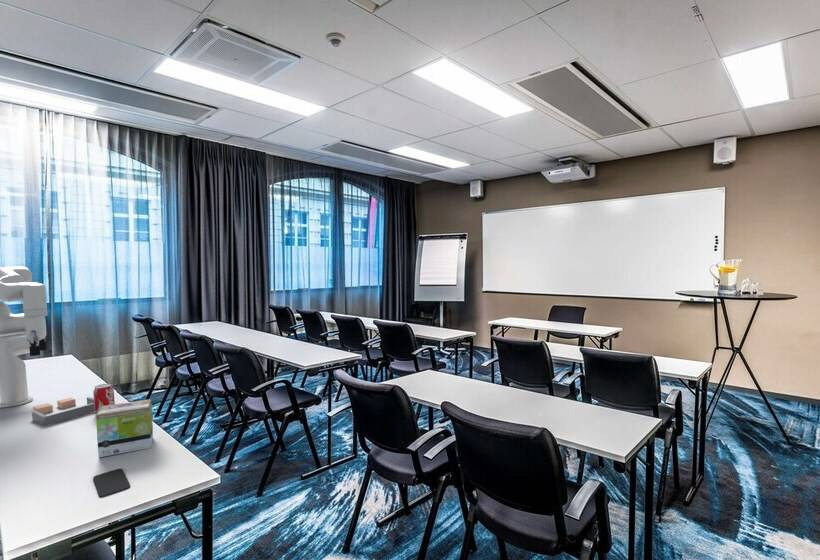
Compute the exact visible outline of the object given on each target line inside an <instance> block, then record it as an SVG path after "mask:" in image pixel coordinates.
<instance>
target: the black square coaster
mask: <svg viewBox="0 0 820 560" xmlns="http://www.w3.org/2000/svg"><path fill="white" fill-rule="evenodd" d="M92 479H93V484H94V487H95V490H96V491H97V495H98V498H105V497H108V496H110V495H114V494H117V493H120V492H123V491H126V490H129V489H130V488H131V483H130V482H129V480H128V477H127V475H126V474H125V472H124V469H123V468H116V469H112V470H110V471H106V472H104V473H99V474H97V475H94V476H93V477H92Z"/></svg>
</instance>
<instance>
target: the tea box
mask: <svg viewBox="0 0 820 560" xmlns="http://www.w3.org/2000/svg"><path fill="white" fill-rule="evenodd" d="M152 410H153V409H152V399H151V398H150V399H143V400H136V401H129V402H124V403H123V402H122V403H115V404H114V405H107V406H101V408H100V410H99V412H98V414H97V415H96V414H95V415H96V416H95V421H96V422H95V423H96V437H97V439H96V440H97V453H98V459H101V458H105V457H108V456H113V455H119V454H124V453H130V452H135V451H142V450H149V449H151V448H152V442H153V439H154V429H153V428H154V426H153V425H154V424H153V411H152Z"/></svg>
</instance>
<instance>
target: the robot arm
mask: <svg viewBox="0 0 820 560" xmlns="http://www.w3.org/2000/svg"><path fill="white" fill-rule="evenodd" d="M32 281H33V273H32V272H31V270H30V269H29V268H27V267H25V266H5V267H4V266H3V267H0V408H1V409H2V408H10V407H11V408H12V407H17V406H21V405H24V404H28V403H29V402H31V401H33V400H34V397H33V396H30V395H29V388H28V378H27V369H26V363H25V361H24V360H23V359H21V358H20V357H18V356H20V355H21V356H22V355H25V354H29V356H30V357H33V356H34V357H35V356H40V355H41V351H47V349H48V346H47V338H46V337H47V323H46V317H47V316H48V315H49V314H48V305H47V304H48V302H47V300H48V299H47V291H46V290H47V288H46V285H45V284H44V283H39V282H35V281H33V282H32ZM18 301H19V302H21V301H22V306H23V307H22V308H23V309H22V311H23V313H16V314H15V313H12V312H11V309H10V307H9V305H8V304H7V303H9V302H18ZM5 302H7V303H5Z"/></svg>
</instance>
